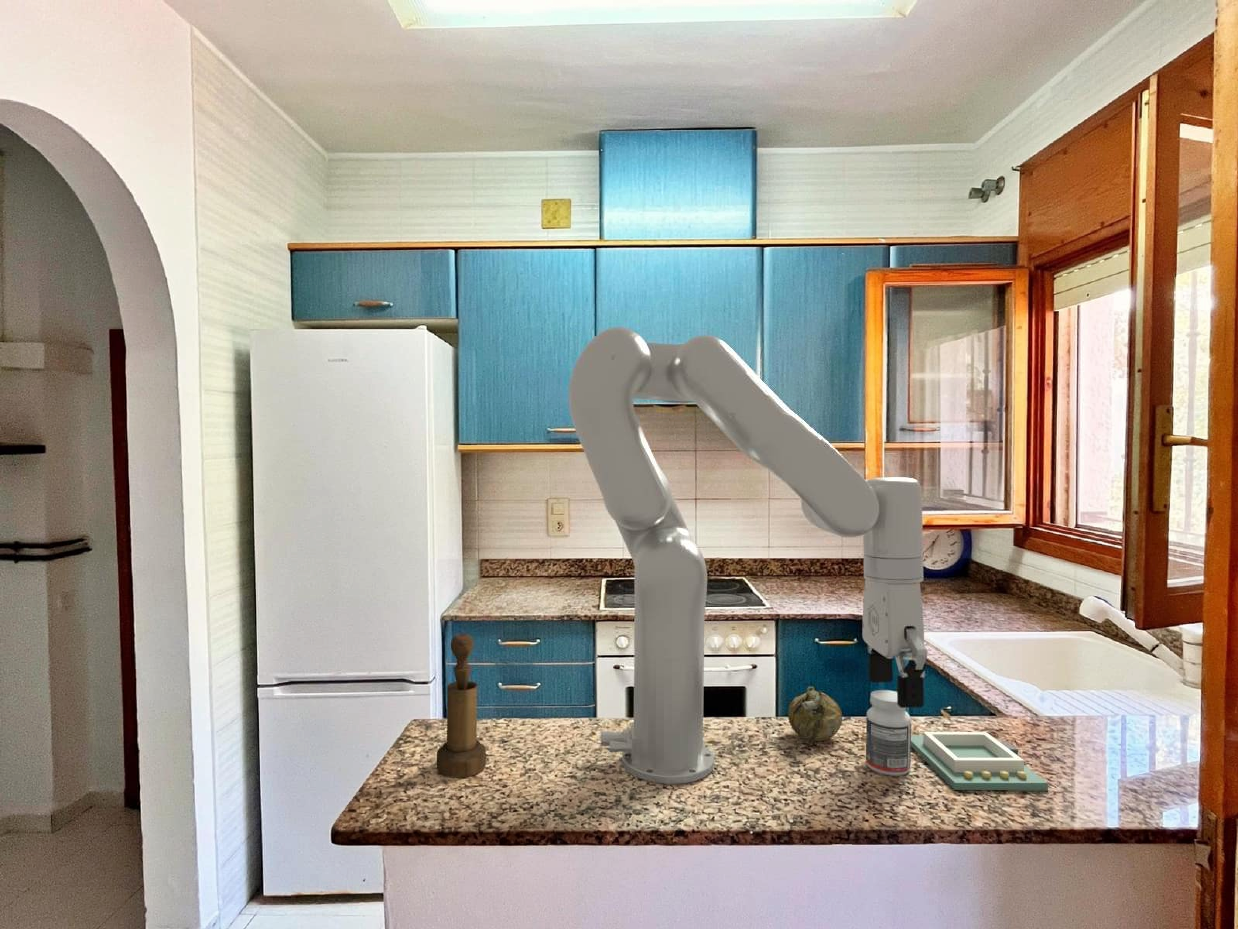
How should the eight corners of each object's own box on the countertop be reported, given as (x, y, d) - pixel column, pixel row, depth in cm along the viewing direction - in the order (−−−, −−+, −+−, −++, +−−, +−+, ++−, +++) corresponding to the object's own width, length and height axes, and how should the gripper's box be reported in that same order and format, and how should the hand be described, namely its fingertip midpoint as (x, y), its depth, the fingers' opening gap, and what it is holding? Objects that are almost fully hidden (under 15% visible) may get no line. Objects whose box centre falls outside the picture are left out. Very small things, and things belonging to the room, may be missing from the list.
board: (955, 790, 89) (955, 770, 89) (904, 741, 104) (905, 724, 104) (1048, 790, 89) (1048, 770, 89) (984, 741, 104) (985, 724, 104)
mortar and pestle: (496, 766, 95) (496, 634, 94) (455, 783, 90) (456, 644, 90) (466, 752, 99) (467, 625, 99) (426, 767, 94) (427, 634, 94)
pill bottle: (874, 754, 100) (875, 685, 99) (915, 766, 96) (917, 694, 96) (859, 768, 95) (860, 696, 95) (902, 781, 92) (903, 706, 91)
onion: (852, 746, 102) (853, 692, 102) (801, 750, 101) (802, 695, 101) (827, 726, 110) (828, 675, 110) (779, 729, 108) (780, 678, 108)
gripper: (843, 559, 104) (845, 674, 104) (891, 581, 86) (893, 718, 87) (894, 558, 104) (896, 672, 104) (951, 579, 86) (953, 717, 87)
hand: (894, 693), depth 95 cm, fingers open, 9 cm apart
